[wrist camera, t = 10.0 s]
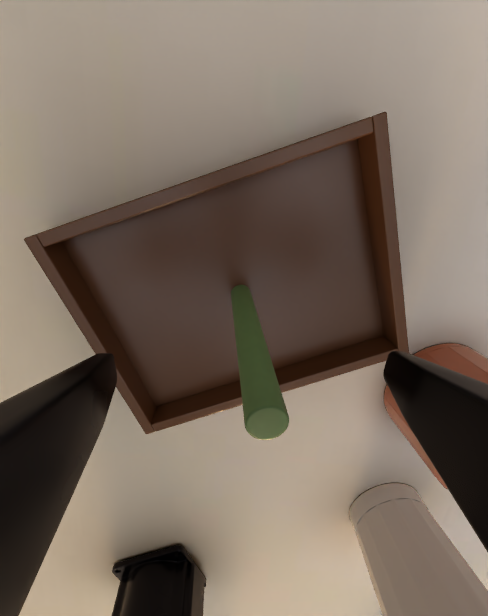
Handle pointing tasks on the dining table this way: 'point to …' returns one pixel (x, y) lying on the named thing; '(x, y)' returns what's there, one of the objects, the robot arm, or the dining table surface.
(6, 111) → the dining table surface
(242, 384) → the straw
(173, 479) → the dining table surface
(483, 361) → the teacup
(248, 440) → the dining table surface
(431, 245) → the dining table surface
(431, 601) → the cup
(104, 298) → the tray
